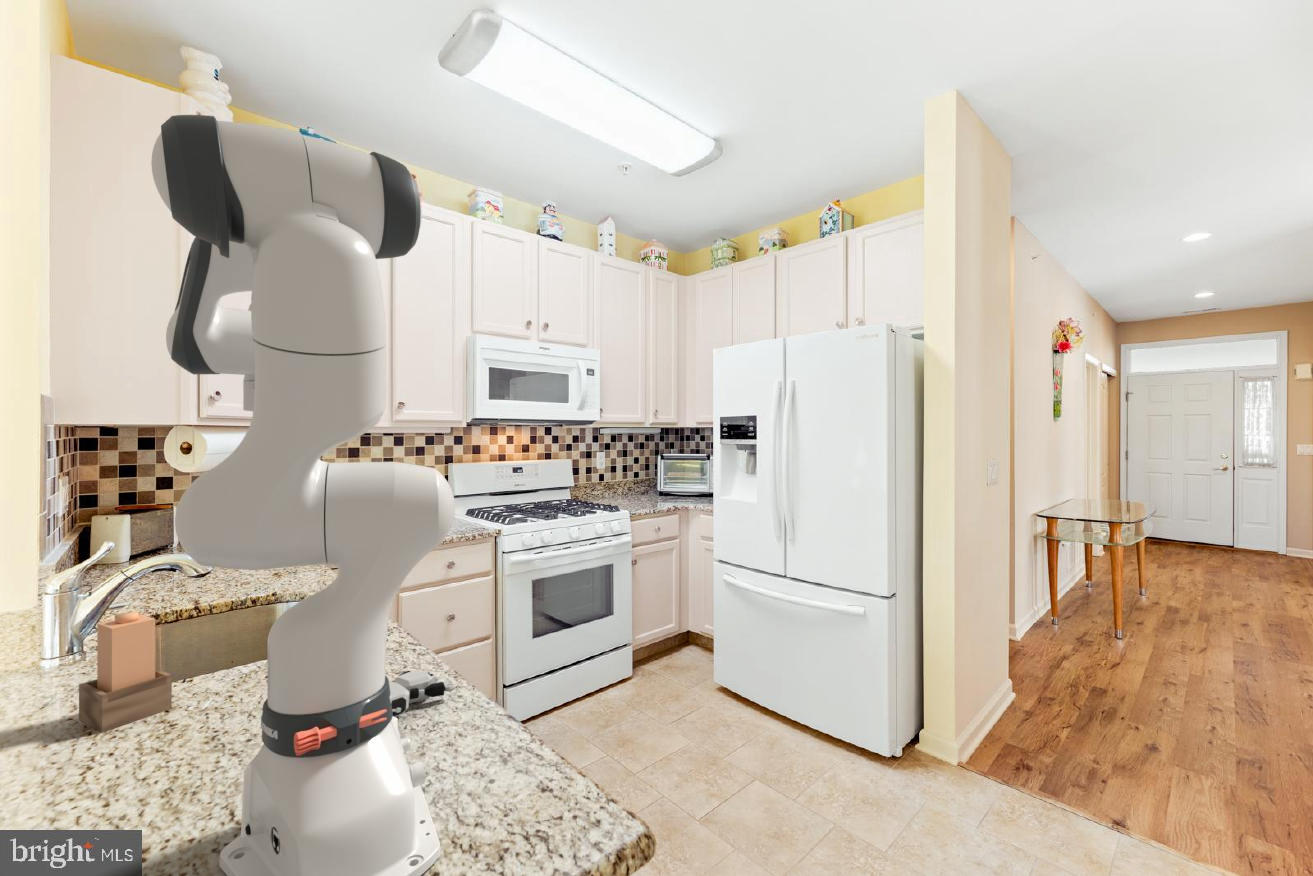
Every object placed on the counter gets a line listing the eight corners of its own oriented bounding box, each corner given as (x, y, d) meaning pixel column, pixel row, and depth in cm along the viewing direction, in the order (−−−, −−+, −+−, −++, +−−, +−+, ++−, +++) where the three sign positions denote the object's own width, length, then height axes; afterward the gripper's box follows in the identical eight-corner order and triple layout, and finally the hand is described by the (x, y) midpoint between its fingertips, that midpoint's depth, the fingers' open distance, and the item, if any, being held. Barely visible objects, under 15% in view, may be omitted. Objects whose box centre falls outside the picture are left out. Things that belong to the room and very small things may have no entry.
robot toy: (411, 687, 96) (321, 718, 83) (412, 660, 96) (323, 687, 83) (459, 705, 89) (369, 741, 76) (460, 676, 89) (372, 707, 77)
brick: (155, 684, 85) (155, 612, 85) (111, 697, 81) (112, 621, 81) (140, 677, 88) (140, 607, 88) (97, 690, 83) (97, 616, 83)
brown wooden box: (171, 708, 86) (171, 674, 86) (102, 732, 79) (102, 695, 79) (147, 697, 90) (147, 665, 90) (78, 719, 83) (78, 684, 83)
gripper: (243, 403, 98) (243, 481, 98) (264, 396, 83) (263, 489, 83) (285, 404, 102) (285, 480, 102) (312, 398, 87) (312, 486, 87)
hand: (276, 484), depth 92 cm, fingers open, 8 cm apart
